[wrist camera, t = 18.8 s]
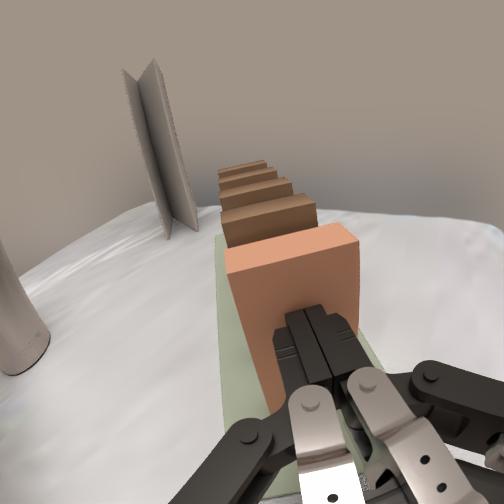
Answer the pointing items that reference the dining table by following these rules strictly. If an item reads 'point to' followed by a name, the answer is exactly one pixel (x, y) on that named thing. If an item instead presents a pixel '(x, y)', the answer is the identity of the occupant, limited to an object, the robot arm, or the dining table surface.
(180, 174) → the brochure
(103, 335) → the dining table surface
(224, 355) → the mat
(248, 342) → the tile
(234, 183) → the tile
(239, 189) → the tile
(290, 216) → the tile
